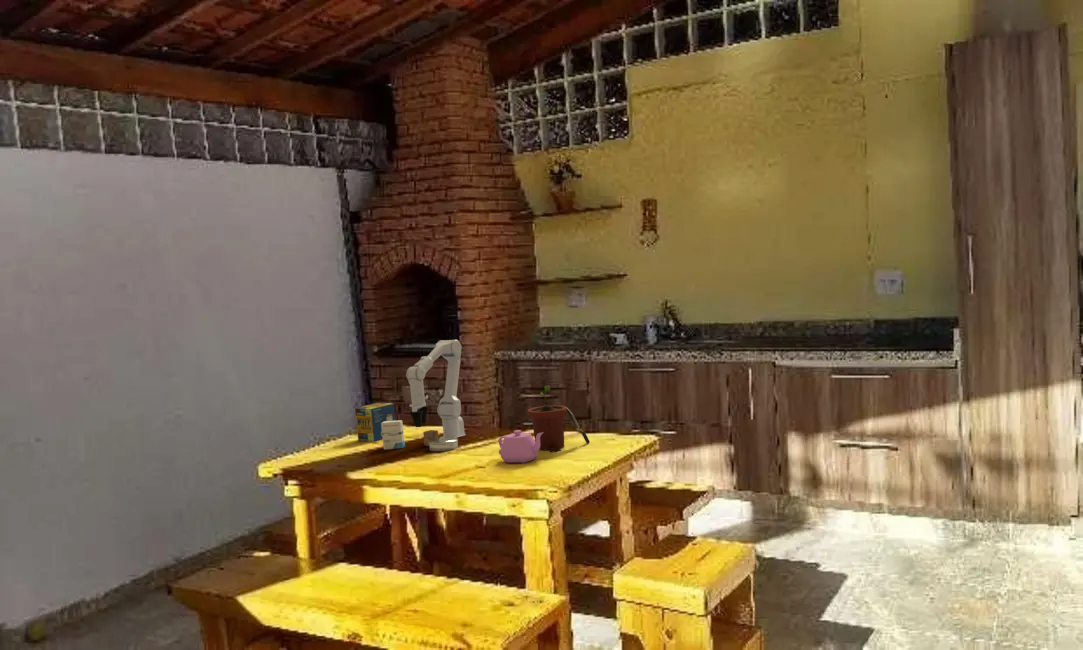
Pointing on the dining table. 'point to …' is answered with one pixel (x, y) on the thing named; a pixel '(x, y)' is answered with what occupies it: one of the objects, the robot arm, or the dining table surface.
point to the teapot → (519, 447)
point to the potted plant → (551, 425)
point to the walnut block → (430, 436)
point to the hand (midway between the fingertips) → (420, 425)
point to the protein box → (373, 420)
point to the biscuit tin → (443, 444)
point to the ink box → (393, 434)
